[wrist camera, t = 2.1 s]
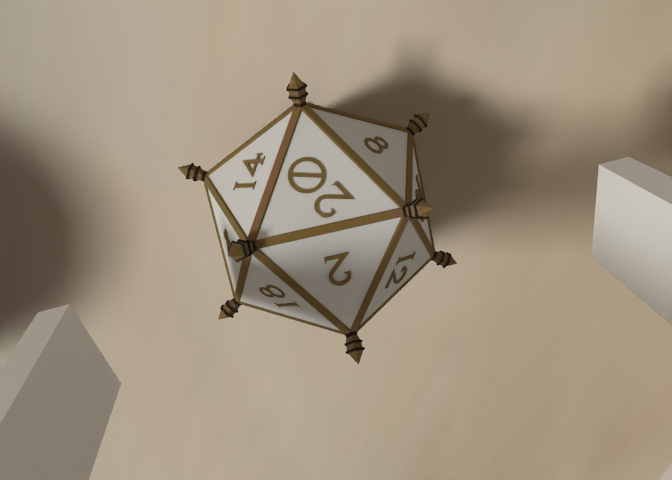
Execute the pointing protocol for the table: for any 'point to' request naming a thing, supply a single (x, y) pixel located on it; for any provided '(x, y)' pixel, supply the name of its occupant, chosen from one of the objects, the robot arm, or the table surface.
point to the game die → (321, 216)
